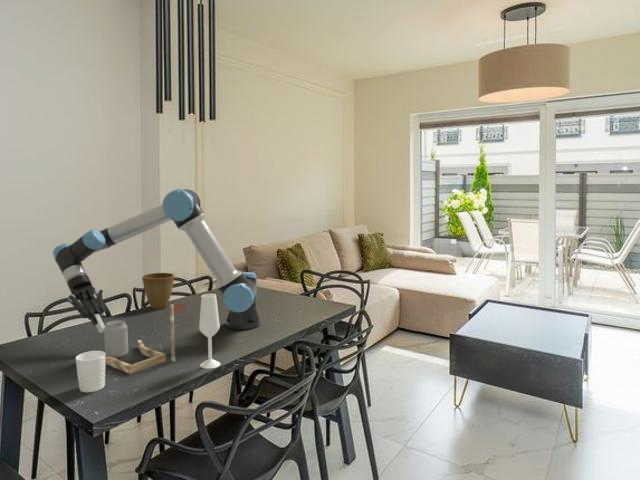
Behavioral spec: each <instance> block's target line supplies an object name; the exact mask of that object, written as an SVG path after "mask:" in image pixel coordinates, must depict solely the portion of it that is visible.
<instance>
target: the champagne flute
mask: <svg viewBox="0 0 640 480" xmlns="http://www.w3.org/2000/svg"><path fill="white" fill-rule="evenodd" d="M200 297H201V299H200V311H199V323H198V328H199V331H200V333H201V334H202V335H204V336H205V337H206V338H207V351H208V353H207V355H208V357H207V358H208V359H206V360H205V361H204V362H202V363H201V364H200V367H201V368H203V369H216V368H218V367H220V366H221V362H220V361H218V360H215V359H213V355H212V354H213V346H212V345H213V344H212V341H213V340H212V339H213V338H212V337H214V336H215V335H216V334H217V333H218V331H219V330H220V327H221V326H220V318H219V316H220V315H219V308H218V302H217V301H218V300H217V294H216V293H205V294H202V295H201V296H200Z"/></svg>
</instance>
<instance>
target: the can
mask: <svg viewBox="0 0 640 480" xmlns="http://www.w3.org/2000/svg"><path fill="white" fill-rule="evenodd" d="M128 331H129V330H128V325H127V324H126V321H125V320H123V319H122V320H119V319H117V320H112V321H108V322H106V323H105V328H104V332H103V336H104V352H105V356H107V357H114V358H116V359H119V358H122V357H125V356H126V355H127V354H128V353H129V334H128V333H129V332H128Z"/></svg>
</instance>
